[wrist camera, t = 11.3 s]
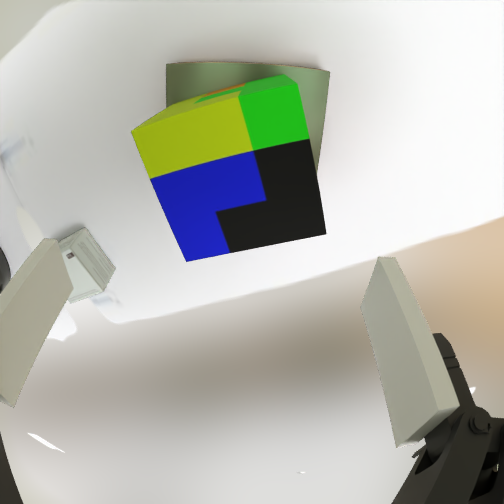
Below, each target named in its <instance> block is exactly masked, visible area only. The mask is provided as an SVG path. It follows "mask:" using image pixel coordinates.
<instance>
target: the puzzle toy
mask: <svg viewBox="0 0 504 504" xmlns="http://www.w3.org/2000/svg"><path fill="white" fill-rule="evenodd" d="M131 133H132V135H133V138H134V141H135V143H136V146H137V148H138V151H139V153H140V156H141V158H142V161H143V163H144V166H145V168H146V171H147V173H148V176H149V178H150V180H151V183H152V185H153V188H154V190H155V192H156V195H157V197H158V199H159V202H160V204H161V206H162V209H163V211H164V213H165V216H166V218H167V220H168V223H169V225H170V227H171V229H172V232H173V234H174V236H175V238H176V240H177V243H178V245H179V247H180V249H181V251H182V254H183V256H184V258H185V260H186V262H188V261H193V260H198V259H203V258H208V257H213V256H218V255H223V254H228V253H234V252H239V251H244V250H249V249H254V248H259V247H264V246H269V245H274V244H279V243H284V242H289V241H294V240H299V239H304V238H310V237H315V236H320V235H325V234H326V228H325V221H324V215H323V209H322V202H321V196H320V191H319V185H318V179H317V174H316V168H315V163H314V158H313V153H312V148H311V143H310V138H309V133H308V128H307V123H306V119H305V114H304V110H303V105H302V101H301V96H300V92H299V88H298V84H297V83H296V82H295V81H293V80H292V79H291V78H289V77H288V76H286V75H285V74H282V75H278V76H273V77H268V78H264V79H259V80H255V81H251V82H247V83H242V84H239V85H235V86H231V87H227V88H223V89H220V90H216V91H213V92H209V93H206V94H203V95H199V96H196V97H193V98H190V99H187V100H184V101H181V102H178V103H175V104H172V105H171V106H169V107H167V108H166V109H164V110H163V111H161V112H159V113H158V114H156V115H155V116H153V117H152V118H150V119H148V120H147V121H145V122H144V123H142V124H141V125H139V126H138V127H136V128H135V129H133V130H132V131H131Z"/></svg>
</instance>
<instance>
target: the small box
mask: <svg viewBox="0 0 504 504" xmlns="http://www.w3.org/2000/svg"><path fill="white" fill-rule="evenodd" d="M58 244H59V247H60V251H61V254H62V257H63V260H64V263H65V265H66V268H67V271H68V274H69V277H70V280H71V282H72V285H73V288H74V289H73V291H72V292H71V294H70V296H69V297H68V299H67V300H68V301H69V302H70V303H74V302H77V301H80V300H82V299H85V298H88V297H90V296H93V295H96V294H98V293H101V292H104V290H105V288H106V286H107V284H108V282H109V281H110V279H111V277H112V275H113V273H114V271H115V269H116V268H115V267H114V266H113V264H112V263H111V262H110V261H109V259H108V258H107V257H106V255H105V254H104V253H103V251H102V250H101V249H100V247H99V246H98V244H97V243H96V242H95V240H94V239H93V238H92V236H91V235H90V233H89V232H88V230H87V229H86V228H83V229H81V230H79V231H77V232H75V233H74V234H72V235H70V236H68V237H67V238H65V239H63V240H61V241H60V242H58Z"/></svg>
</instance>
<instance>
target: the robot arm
mask: <svg viewBox="0 0 504 504" xmlns="http://www.w3.org/2000/svg"><path fill="white" fill-rule="evenodd" d="M9 281H10V282H9ZM73 289H74V288H73V285H72V282H71V280H70V277H69V274H68V271H67V268H66V265H65V263H64V260H63V257H62V254H61V251H60V247H59V244H58V241H57V239H43V240H42V242H41V243H40V244H39V245H38V246H37V247H36V249H35V250H34V251H33V252H32V253H31V255H30V256H29V257H28V258H27V260H26V261H25V262H24V263H23V265H22V266H21V267H20V268H19V270H18V271H17V272H16V274H15V275H14V276H13V278H12V279H11V280H10V270H9V266H8V263H7V260H6V258H5V256H4V254H3V252H2V250H1V249H0V402H2V403H4V404H7V405H9V406H11V407H13V408H14V407H15V404H16V402H17V399H18V397H19V395H20V392H21V390H22V388H23V385H24V383H25V381H26V379H27V376H28V374H29V372H30V369H31V368H32V366H33V363H34V361H35V359H36V357H37V355H38V353H39V351H40V349H41V347H42V345H43V343H44V341H45V339H46V337H47V335H48V334H49V332H50V330H51V328H52V326H53V324H54V322H55V320H56V319H57V317H58V315H59V313H60V311H61V310H62V308H63V306H64V304H65V303H66V301H67V299H68V297H69V296H70V294H71V292H72V291H73ZM361 311H362V315H363V318H364V321H365V325H366V328H367V331H368V335H369V338H370V342H371V345H372V349H373V352H374V356H375V360H376V363H377V367H378V371H379V375H380V379H381V383H382V387H383V391H384V395H385V399H386V403H387V408H388V412H389V416H390V421H391V425H392V430H393V435H394V439H395V444H396V448H400V447H405V446H410V445H415V444H417V443H418V442H419V441H420V440H422V439H423V438H425V442H426V445H424V446H423V447H422V448H421V449H419V450H418V451H416V452H415V454H414V455H413V456H412V457H413V458H415V457H416V456H418V455H419V457H418V458H417V460H416V462H415V464H414V466H413V468H412V470H411V471H410V473H409V475H408V477H407V479H406V480H405V482H404V484H403V486H402V487H401V489H400V491H399V492H398V494H397V496H396V497H395V499H394V500H393V502H392V504H504V419H503V418H492V417H490V415H489V413H488V412H487V411H486V410H484V409H483V408H480V407H477V406H476V405H475V403H474V401H473V398H472V395H471V393H470V390H469V387H468V385H467V382H466V380H465V377H464V375H463V372H462V370H461V368H460V365H459V362H458V360H457V358H455V353H454V351H453V349H452V346H451V344H450V343H449V342H448V340H447V339H446V338H445V337H444V336H443V335H442V334H441V333H435V334H432V333H431V330H430V328H429V326H428V323H427V321H426V319H425V317H424V315H423V313H422V310H421V308H420V306H419V304H418V302H417V300H416V298H415V296H414V293H413V292H412V289H411V287H410V285H409V283H408V281H407V279H406V277H405V276H404V274H403V272H402V270H401V268H400V266H399V264H398V262H397V260H396V258H393V257H392V258H391V257H378V259H377V262H376V265H375V268H374V271H373V274H372V276H371V279H370V282H369V285H368V288H367V290H366V293H365V296H364V298H363V301H362V304H361ZM497 464H499V465H498V471H497ZM0 504H23V502H22V499H21V497H20V494H19V491H18V489H17V486H16V483H15V481H14V478H13V475H12V472H11V469H10V465H9V462H8V459H7V456H6V452H5V449H4V445H3V441H2V437H1V434H0Z"/></svg>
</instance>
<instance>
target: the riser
mask: <svg viewBox="0 0 504 504" xmlns="http://www.w3.org/2000/svg"><path fill="white" fill-rule="evenodd" d="M282 74H285V75H286V76H288V77H289V78H291V79H292V80H293V81H295V82H296V83H297V84H298V88H299V92H300V96H301V101H302V105H303V110H304V114H305V119H306V123H307V128H308V133H309V138H310V143H311V148H312V153H313V158H314V163H315V168H316V174H317V170H318V163H319V156H320V149H321V142H322V135H323V127H324V119H325V112H326V103H327V95H328V86H329V77H330V72H329V71H325V70H321V69H313V68H306V67H297V66H287V65H276V64H263V63H244V62H183V63H172V64H166V108H167V107H169V106H171V105H172V104H175V103H178V102H181V101H184V100H187V99H190V98H193V97H196V96H199V95H203V94H206V93H209V92H213V91H216V90H220V89H223V88H227V87H231V86H235V85H239V84H242V83H247V82H251V81H255V80H259V79H264V78H268V77H273V76H278V75H282Z"/></svg>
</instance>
